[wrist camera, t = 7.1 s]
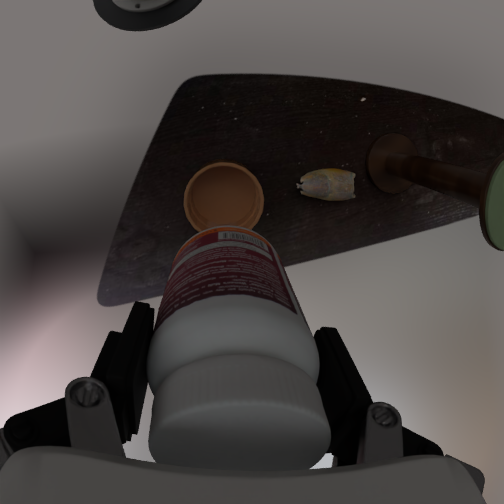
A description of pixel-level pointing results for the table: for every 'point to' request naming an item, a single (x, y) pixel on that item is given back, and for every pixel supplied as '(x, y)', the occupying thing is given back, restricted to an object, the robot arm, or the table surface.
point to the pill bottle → (234, 361)
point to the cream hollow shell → (328, 184)
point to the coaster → (496, 208)
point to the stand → (427, 174)
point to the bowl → (223, 196)
